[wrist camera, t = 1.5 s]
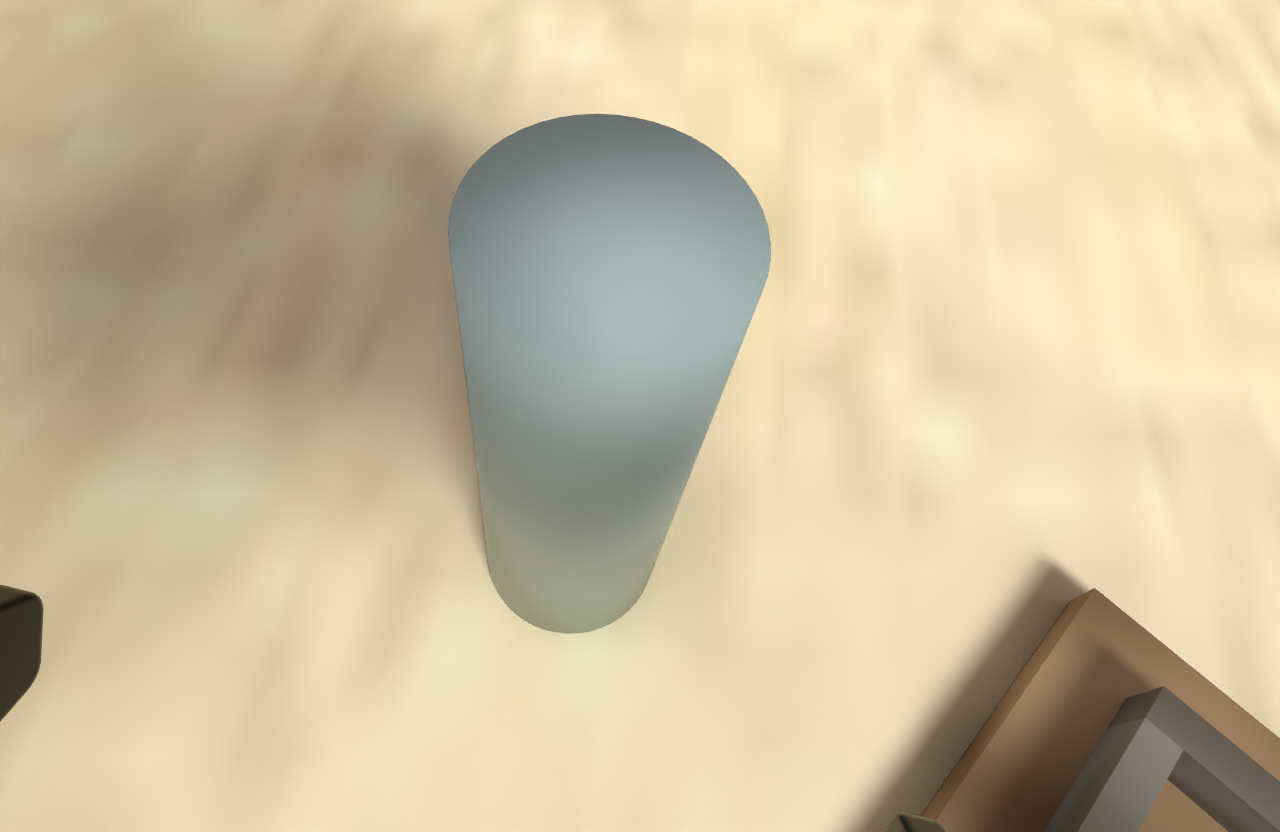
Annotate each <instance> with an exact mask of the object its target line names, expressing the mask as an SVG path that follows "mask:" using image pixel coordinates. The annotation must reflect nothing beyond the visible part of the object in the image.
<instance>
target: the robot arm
mask: <svg viewBox="0 0 1280 832" xmlns="http://www.w3.org/2000/svg"><path fill="white" fill-rule="evenodd" d="M42 628H43V603H42V601H41V599H40V597H39V596H37V595H36V594H35V593H32V592H28V591H24V590H20V589H16V588H12V587H8V586H4V585H0V721H1V720H2V719H3V718H4V717H5V716H6V714H7V713H8V712H9V711H10V710H11V709H12V708H13V706H14V705H15V704H16V703H17V702H18V701H19V700H20V698H21V697H22V696H23V695H24V694H25V693H26V692H27V690H28V689H29V688H30V686H31V685H32V683H33V682H34V680H35V678H36V676H37V674H38V671H39V668H40V663H41V649H42ZM886 832H947V831H946V830H945V829H944V828H943V827H942V826H941V825H940V824H939V823H938V822H936V821H934V820H932V819H928V818H924V817H920V816H916V815H912V814H908V813H904V812H900V813H897V814H895V815H894V816H893V817H892V819H891V820H890V822H889V824H888V827H887V829H886Z"/></svg>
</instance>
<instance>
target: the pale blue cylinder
mask: <svg viewBox="0 0 1280 832" xmlns="http://www.w3.org/2000/svg"><path fill="white" fill-rule="evenodd" d="M448 235H449V244H450V253H451V261H452V269H453V277H454V286H455V294H456V302H457V310H458V319H459V327H460V335H461V343H462V352H463V360H464V368H465V376H466V385H467V393H468V401H469V410H470V418H471V426H472V434H473V443H474V451H475V459H476V467H477V476H478V484H479V492H480V500H481V509H482V517H483V525H484V533H485V542H486V550H487V558H488V566H489V571H490V575H491V579H492V581H493V584H494V586H495V588H496V590H497V592H498V594H499V595H500V597H501V598H502V600H503V601H504V602H505V604H506V605H507V606H508V607H509V608H510V609H511V610H512V611H513V612H514V613H515V614H516V615H518V616H519V617H521V618H522V619H523V620H525V621H527V622H528V623H530V624H532V625H534V626H536V627H539V628H542V629H544V630H548V631H552V632H558V633H582V632H588V631H592V630H596V629H599V628H602V627H604V626H606V625H608V624H610V623H612V622H614V621H615V620H617V619H619V618H620V617H621V616H622V615H624V614H625V613H626V612H627V611H628V610H629V609H630V608H631V607H632V606H633V605H634V604H635V603H636V601H637V600H638V599H639V597H640V596H641V594H642V592H643V591H644V589H645V587H646V585H647V582H648V580H649V577H650V575H651V572H652V569H653V567H654V564H655V562H656V559H657V557H658V554H659V552H660V549H661V547H662V544H663V542H664V539H665V537H666V534H667V531H668V529H669V526H670V524H671V521H672V519H673V516H674V514H675V511H676V509H677V506H678V504H679V501H680V499H681V496H682V493H683V491H684V488H685V486H686V483H687V481H688V478H689V476H690V473H691V471H692V468H693V466H694V463H695V461H696V458H697V456H698V453H699V450H700V448H701V445H702V443H703V440H704V438H705V435H706V433H707V430H708V428H709V425H710V423H711V420H712V418H713V415H714V412H715V410H716V407H717V405H718V402H719V400H720V397H721V395H722V392H723V390H724V387H725V385H726V382H727V380H728V377H729V374H730V372H731V369H732V367H733V364H734V362H735V359H736V357H737V354H738V352H739V349H740V347H741V344H742V342H743V339H744V336H745V334H746V331H747V329H748V326H749V324H750V321H751V319H752V316H753V314H754V311H755V309H756V306H757V304H758V301H759V299H760V296H761V293H762V291H763V288H764V285H765V282H766V279H767V277H768V272H769V266H770V260H771V242H770V235H769V229H768V225H767V222H766V219H765V216H764V213H763V210H762V208H761V206H760V204H759V202H758V200H757V198H756V196H755V194H754V193H753V191H752V190H751V188H750V187H749V185H748V184H747V182H746V181H745V180H744V179H743V178H742V177H741V175H740V174H739V173H738V172H737V171H736V170H735V169H734V168H733V167H732V166H731V165H730V164H729V163H728V162H727V161H726V160H725V159H723V158H722V157H721V156H720V155H719V154H717V153H716V152H714V151H713V150H712V149H710V148H709V147H708V146H706V145H704V144H703V143H701V142H699V141H697V140H696V139H694V138H692V137H691V136H688V135H686V134H684V133H682V132H680V131H677V130H675V129H673V128H670V127H667V126H664V125H661V124H658V123H655V122H652V121H648V120H643V119H639V118H635V117H628V116H620V115H608V114H586V115H573V116H567V117H560V118H555V119H551V120H547V121H543V122H540V123H537V124H534V125H532V126H529V127H526V128H524V129H522V130H520V131H518V132H516V133H514V134H512V135H510V136H508V137H506V138H505V139H503V140H502V141H500V142H499V143H497V144H496V145H494V146H493V147H491V148H490V149H489V150H488V151H487V152H486V153H485V154H483V155H482V156H481V157H480V158H479V159H478V160H477V161H476V163H475V164H474V165H473V166H472V167H471V168H470V170H469V171H468V172H467V174H466V175H465V177H464V179H463V180H462V182H461V183H460V185H459V187H458V190H457V192H456V195H455V197H454V199H453V203H452V207H451V211H450V216H449V230H448Z"/></svg>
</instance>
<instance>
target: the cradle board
mask: <svg viewBox="0 0 1280 832" xmlns="http://www.w3.org/2000/svg"><path fill="white" fill-rule="evenodd" d="M921 817H924V818H928V819H932V820H934V821H936V822H938V823H939V824H940V825H941V826H942V827H943V828H944V829H945V830H946V831H947V832H1280V738H1278V737H1277V736H1276V735H1275V734H1274V733H1272V732H1271V731H1270V730H1269V729H1267V728H1266V727H1265V726H1264V725H1262V724H1261V723H1260V722H1259V721H1258V720H1256V719H1255V718H1254V717H1253V716H1251V715H1250V714H1249V713H1248V712H1246V711H1245V710H1244V709H1243V708H1242V707H1240V706H1239V705H1238V704H1237V703H1235V702H1234V701H1233V700H1232V699H1230V698H1229V697H1228V696H1227V695H1226V694H1224V693H1223V692H1222V691H1221V690H1219V689H1218V688H1217V687H1216V686H1214V685H1213V684H1212V683H1211V682H1210V681H1208V680H1207V679H1206V678H1205V677H1203V676H1202V675H1201V674H1200V673H1198V672H1197V671H1196V670H1195V669H1194V668H1192V667H1191V666H1190V665H1189V664H1187V663H1186V662H1185V661H1184V660H1182V659H1181V658H1180V657H1179V656H1178V655H1176V654H1175V653H1174V652H1173V651H1171V650H1170V649H1169V648H1168V647H1166V646H1165V645H1164V644H1163V643H1162V642H1160V641H1159V640H1158V639H1157V638H1155V637H1154V636H1153V635H1152V634H1150V633H1149V632H1148V631H1147V630H1146V629H1144V628H1143V627H1142V626H1141V625H1139V624H1138V623H1137V622H1136V621H1134V620H1133V619H1132V618H1131V617H1130V616H1128V615H1127V614H1126V613H1125V612H1123V611H1122V610H1121V609H1120V608H1119V607H1117V606H1116V605H1115V604H1114V603H1112V602H1111V601H1110V600H1109V599H1107V598H1106V597H1105V596H1104V595H1103V594H1101V593H1100V592H1099V591H1098V590H1096V589H1095V588H1094V589H1092V590H1090V591H1089V592H1087V593H1085V594H1083V595H1081V596H1079V597H1077V598H1075V599H1073V600H1071V601H1070V602H1069V604H1068V605H1067V606H1066V608H1065V609H1064V611H1063V612H1062V614H1061V615H1060V617H1059V618H1058V619H1057V621H1056V622H1055V624H1054V625H1053V627H1052V628H1051V629H1050V631H1049V632H1048V634H1047V635H1046V637H1045V638H1044V640H1043V641H1042V642H1041V644H1040V645H1039V647H1038V648H1037V650H1036V651H1035V653H1034V654H1033V655H1032V657H1031V658H1030V660H1029V661H1028V663H1027V664H1026V665H1025V667H1024V668H1023V670H1022V671H1021V673H1020V674H1019V676H1018V677H1017V678H1016V680H1015V681H1014V683H1013V684H1012V686H1011V687H1010V689H1009V690H1008V691H1007V693H1006V694H1005V696H1004V697H1003V699H1002V700H1001V702H1000V703H999V704H998V706H997V707H996V709H995V710H994V712H993V713H992V714H991V716H990V717H989V719H988V720H987V722H986V723H985V725H984V726H983V727H982V729H981V730H980V732H979V733H978V735H977V736H976V738H975V739H974V740H973V742H972V743H971V745H970V746H969V748H968V749H967V751H966V752H965V753H964V755H963V756H962V758H961V759H960V761H959V762H958V763H957V765H956V766H955V768H954V769H953V771H952V772H951V774H950V775H949V776H948V778H947V779H946V781H945V782H944V784H943V785H942V787H941V788H940V789H939V791H938V792H937V794H936V795H935V797H934V798H933V799H932V801H931V802H930V804H929V805H928V807H927V808H926V810H925V811H924V812H923V814H922V815H921Z"/></svg>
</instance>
